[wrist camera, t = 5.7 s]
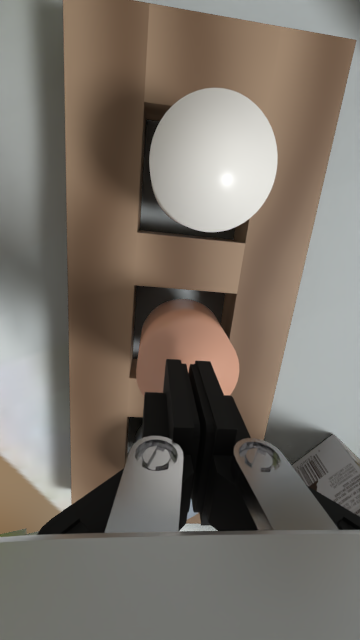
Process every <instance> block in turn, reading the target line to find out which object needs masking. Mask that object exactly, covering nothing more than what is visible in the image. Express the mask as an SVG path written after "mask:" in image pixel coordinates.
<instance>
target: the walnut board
mask: <svg viewBox="0 0 360 640" xmlns="http://www.w3.org/2000/svg"><path fill="white" fill-rule="evenodd" d="M63 29H64V87H65V146H66V205H67V264H68V322H69V381H70V440H71V498H72V504H73V503H75V502H76V501H78V500H79V499H81V498H82V497H84V496H85V495H86V494H88V493H89V492H91V491H92V490H94V489H95V488H96V487H98V486H99V485H101V484H102V483H104V482H105V481H106V480H108V479H109V478H111V477H112V476H114V475H115V474H116V473H118V472H119V471H121V470H122V469H124V468H125V464H126V461H127V458H128V457H127V446H128V429H129V417H143V408H144V396H143V395H142V393H141V391H140V389H139V387H138V384H137V378H136V368H137V360H138V359H132V358H133V341H134V323H135V306H136V288H137V285H138V286H150V287H162V288H174V289H186V290H198V291H210V292H222V293H225V298H224V305H223V311H222V318H221V324H220V325H221V327H222V328H223V330H224V332H225V334H226V335H227V337H228V339H229V340H230V342H231V344H232V346H233V347H234V349H235V351H236V354H237V356H238V360H239V377H238V381H237V384H236V386H235V388H234V390H233V392H232V393H231V395H230V396H232V397H233V399H234V401H235V403H236V405H237V408H238V410H239V412H240V414H241V416H242V419H243V421H244V423H245V425H246V428H247V430H248V432H249V434H250V437H251V438H256V439H261V440H264V436H265V432H266V428H267V423H268V419H269V415H270V411H271V406H272V402H273V398H274V393H275V389H276V385H277V380H278V376H279V372H280V367H281V363H282V359H283V354H284V350H285V346H286V342H287V337H288V333H289V329H290V324H291V320H292V316H293V311H294V307H295V303H296V298H297V294H298V290H299V285H300V281H301V277H302V273H303V268H304V264H305V260H306V255H307V251H308V247H309V242H310V238H311V234H312V229H313V225H314V221H315V216H316V212H317V208H318V204H319V199H320V195H321V191H322V186H323V182H324V178H325V173H326V169H327V165H328V160H329V156H330V152H331V147H332V143H333V139H334V135H335V130H336V126H337V122H338V117H339V113H340V109H341V104H342V100H343V96H344V91H345V87H346V83H347V78H348V74H349V70H350V66H351V61H352V57H353V53H354V48H355V44H356V40H353V39H348V38H342V37H336V36H331V35H325V34H320V33H314V32H308V31H303V30H297V29H291V28H286V27H280V26H275V25H269V24H263V23H258V22H252V21H246V20H241V19H235V18H229V17H224V16H218V15H213V14H207V13H201V12H196V11H190V10H184V9H179V8H173V7H168V6H162V5H156V4H151V3H145V2H139V1H134V0H63ZM205 88H225V89H229V90H233V91H235V92H238V93H240V94H242V95H244V96H245V97H247V98H249V99H250V100H251V101H252V102H254V103H255V104H256V105H257V106H258V107H259V108H260V110H261V111H262V112H263V113H264V115H265V116H266V118H267V119H268V121H269V123H270V125H271V127H272V130H273V133H274V136H275V140H276V145H277V154H278V158H277V171H276V176H275V180H274V183H273V186H272V189H271V191H270V193H269V195H268V197H267V199H266V200H265V202H264V204H263V205H262V206H261V208H260V209H259V210H258V211H257V212H256V213H255V214H254V215H253V216H252V217H251V218H250V219H248V220H247V221H245V222H244V223H242V224H241V225H239V226H237V227H235V233H234V240H232V239H222V238H212V237H202V236H193V235H183V234H173V233H163V232H153V231H143V230H140V218H141V200H142V183H143V165H144V148H145V130H146V119H148V120H155V121H161V119H162V118H163V116H164V115H165V113H166V112H167V111H168V110H169V109H170V108H171V107H172V106H173V105H174V104H175V103H176V102H177V101H179V100H180V99H181V98H183V97H184V96H186V95H188V94H190V93H192V92H195V91H197V90H201V89H205ZM186 523H198V524H201V520H200V514H199V513H197V514H196V515H195V516H193V517H191V518H189V519H187V521H186Z"/></svg>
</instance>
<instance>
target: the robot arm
mask: <svg viewBox="0 0 360 640" xmlns="http://www.w3.org/2000/svg"><path fill="white" fill-rule="evenodd" d="M191 499H192V507H193V512H194V513H199V514H200V520H201V525H212V526H213V527H214V528H215V529H216V530H218V531H186V532H179V530H180V529H181V528H182V527H183V526H184V525H185V524H186V521H187V514H188V512H189V509H190V502H191ZM0 640H360V516H358V515H356V514H354V513H353V512H351V511H349V510H348V509H346V508H344V507H343V506H341V505H339V504H338V503H336V502H334V501H332V500H331V499H329V498H327V497H326V496H324V495H322V494H321V493H319V492H317V491H316V490H314V489H312V488H310V487H309V486H307V485H306V484H305V483H304V482H303V480H302V479H301V478H300V476H299V475H298V474H297V472H296V471H295V470H294V468H293V467H292V466H291V464H290V463H289V461H288V460H287V459H286V457H285V456H284V455H283V453H282V452H281V451H280V450H279V449H278V448H277V447H275V446H274V445H272V444H271V443H269V442H266V441H264V440H261V439H256V438H251V437H250V434H249V432H248V430H247V428H246V425H245V423H244V421H243V419H242V416H241V414H240V412H239V410H238V408H237V405H236V403H235V401H234V399H233V397H232V396H230V395H224V394H223V392H222V389H221V387H220V384H219V382H218V379H217V377H216V374H215V372H214V369H213V367H212V364H211V362H210V361H195V364H190V366H189V373H188V369H187V365H186V364H182V363H181V360H178V359H166V365H165V376H164V386H163V393H158V392H145V395H144V408H143V422H142V439H140V440H138V441H137V442H136V443H134V444H133V445H132V447H131V449H130V451H129V454H128V458H127V461H126V464H125V468H124V469H122V470H121V471H119V472H118V473H116V474H115V475H114V476H112V477H111V478H109V479H108V480H106V481H105V482H104V483H102V484H101V485H99V486H98V487H96V488H95V489H94V490H92V491H91V492H89V493H88V494H86V495H85V496H84V497H82V498H81V499H79V500H78V501H76V502H75V503H73V504H72V505H71V506H69V507H68V508H66V509H65V510H63V511H62V512H61V513H59V514H58V515H56V516H55V517H54V518H52V519H51V520H50V521H49V522H47V523H46V524H45V525H44V526H43V527H42V528H41V530H40V531H38V532H34V533H29V534H27V532H26V529H22V530H18V531H13V532H9V533H4V534H0Z"/></svg>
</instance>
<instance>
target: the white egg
mask: <svg viewBox="0 0 360 640" xmlns="http://www.w3.org/2000/svg"><path fill="white" fill-rule="evenodd" d="M277 158H278V154H277V145H276V140H275V136H274V133H273V130H272V127H271V125H270V123H269V121H268V119H267V118H266V116H265V115H264V113H263V112H262V111H261V110H260V108H259V107H258V106H257V105H256V104H255V103H254V102H252V101H251V100H250V99H249V98H247V97H245V96H244V95H242V94H240V93H238V92H235V91H233V90H229V89H225V88H205V89H201V90H197V91H195V92H192V93H190V94H188V95H186V96H184V97H183V98H181V99H180V100H179V101H177V102H176V103H175V104H174V105H173V106H172V107H171V108H170V109H169V110H168V111H167V112H166V113H165V115H164V116H163V118H162V119H161V121H160V123H159V124H158V126H157V128H156V131H155V133H154V136H153V139H152V143H151V148H150V156H149V168H150V176H151V182H152V188H153V192H154V195H155V198H156V200H157V202H158V204H159V206H160V207H161V208H162V210H163V211H164V212H165V213H166V214H167V215H168V216H169V217H170V218H171V219H172V220H174V221H176V222H177V223H179V224H181V225H184V226H186V227H189V228H192V229H195V230H198V231H203V232H220V231H225V230H229V229H232V228H234V227H237V226H239V225H241V224H242V223H244V222H245V221H247V220H248V219H250V218H251V217H252V216H253V215H254V214H255V213H256V212H257V211H258V210H259V209H260V208H261V206H262V205H263V204H264V202H265V200H266V199H267V197H268V195H269V193H270V191H271V189H272V186H273V183H274V180H275V176H276V171H277Z"/></svg>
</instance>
